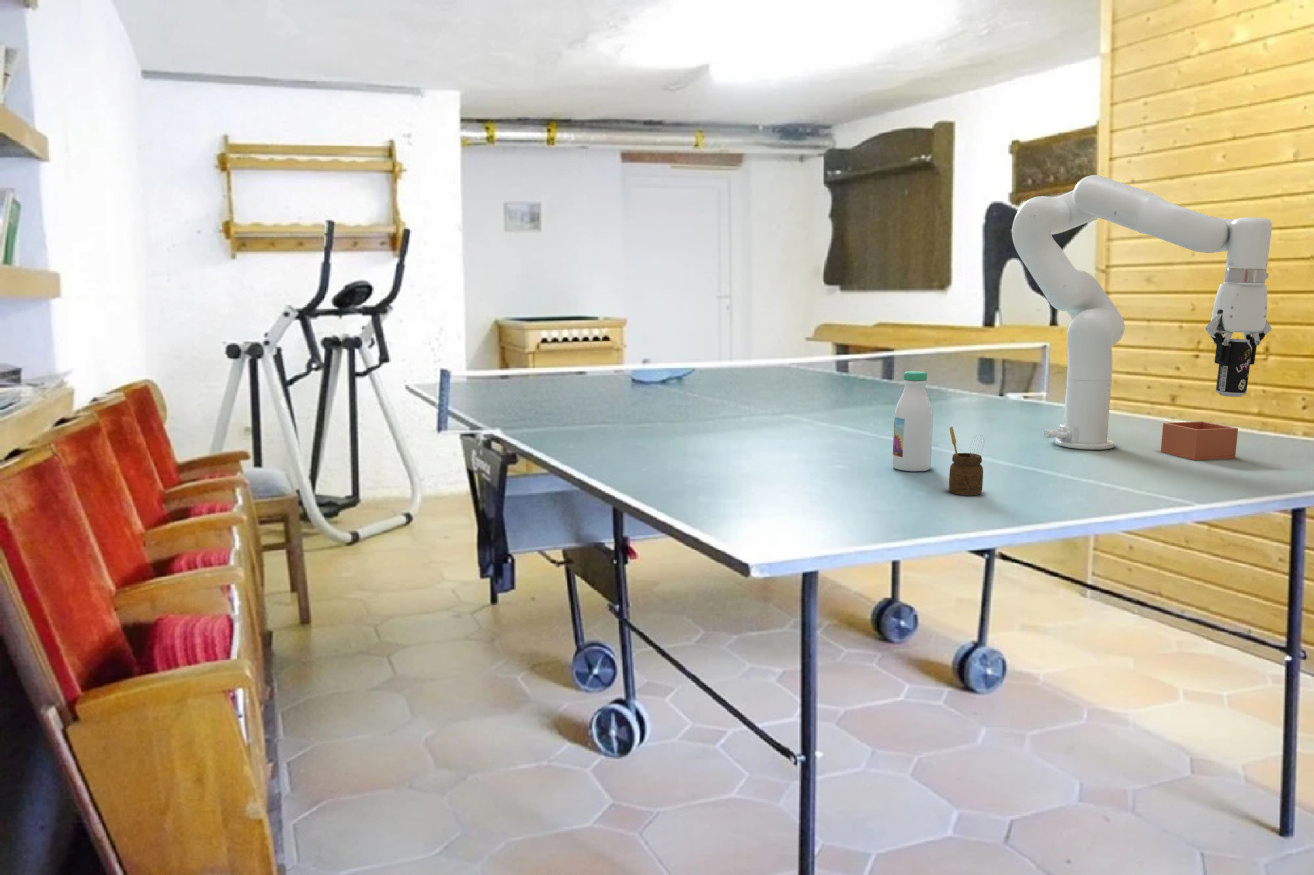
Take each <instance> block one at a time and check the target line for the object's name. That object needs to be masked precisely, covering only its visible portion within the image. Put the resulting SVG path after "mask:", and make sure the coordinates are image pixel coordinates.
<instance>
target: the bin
mask: <svg viewBox="0 0 1314 875" xmlns="http://www.w3.org/2000/svg"><path fill="white" fill-rule="evenodd" d="M1238 434H1239V428H1238V427H1233V426H1229V425H1223V424H1219V423H1213V422H1208V421H1202V420H1201V421H1177V422H1175V421H1174V422H1162V432H1161V444H1160V453H1165V454H1168V455H1171V456H1177V457H1180V458H1184V459H1188V460H1192V461H1206V460H1224V459H1225V460H1226V459H1228V460H1229V459H1236V456H1237V455H1236V454H1237V445H1238Z"/></svg>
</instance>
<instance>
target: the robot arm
mask: <svg viewBox="0 0 1314 875" xmlns="http://www.w3.org/2000/svg"><path fill="white" fill-rule="evenodd" d="M1073 188H1074V189H1072V190H1070V191H1068V192H1066V193H1063V194H1061V195H1058V196H1055V197H1054V196H1053V197H1052V196H1047V195H1046V196H1045V195H1041V196H1039V195H1038V196H1035V197H1031V198H1029V199H1028V200H1026V201H1025V202H1024V203H1022V205H1021V206H1020V207H1019V208H1018V210H1017V212H1016V214H1015V216H1014V219H1013V221H1012V226H1011V237H1012V243H1013V246H1014V249H1015V251H1016V253H1017V254H1018V257H1019V258H1020V259H1021V261H1022V263H1023V264H1024V266H1025V267H1026V269H1027V270H1028V272H1029V273H1030V275H1031V277H1032V279H1033V280H1034V282H1035V283H1036V285H1037V286H1038V287H1039V289H1040V291H1041V292H1042V293H1043V295H1044V296H1045V298H1046V300H1047V302H1048V303H1049V304H1050V306H1051V307H1052V308H1054V309H1055V310H1057V311H1060V312H1061V311H1062V312H1066V313H1067V314H1068V315H1069V317H1070V318H1071V320H1070V322H1069V324H1068V327H1067V331H1066V332H1067V333H1066V346H1067V349H1066V350H1067V370H1066V384H1065V385H1066V386H1065V387H1066V388H1065V401H1064V415H1063V416H1064V417H1063V424H1059V426H1058V428H1056V429H1045V430H1044V434H1043V435H1044V437H1045V439H1055V445H1057V446H1059V447H1064V448H1069V449H1077V450H1093V451H1094V450H1096V451H1097V450H1109V449H1112V448H1114V447H1115V442H1114V441H1113V440H1111V439H1108V434H1109V421H1110V420H1109V419H1110V408H1111V407H1110V406H1111V395H1112V394H1111V392H1112V378H1113V346H1115V345H1116V344H1118V343H1119V342H1120V340H1121V339H1122V338H1123V336H1124V333H1125V329H1126V328H1125V320H1124V318H1123V316H1122V314H1121V313H1120V311H1119V310H1118V309H1117V307H1116V305H1115V304H1114V303H1113V301H1112V299H1111V298H1110V297H1109V296H1108V294H1107V292H1106V291H1105V289H1104V288H1103V287H1102V285H1101V284H1100V283H1099V281H1098V280H1097V279H1096V278H1095V276H1093V275H1092V274H1091V273H1089V272H1087V271H1085V270H1081V269H1077V268H1076V267H1075V266H1074V265H1073V263H1072V262H1071V261H1070V259H1069V258H1068V257H1067V255H1066V253H1065V252H1064V250H1063V249H1062V247H1061V246H1060V245H1059V244H1058V243H1057V242H1056V240H1055V239H1054V237H1053V235H1057V234H1062V233H1064V232H1067V231H1069V230H1072V229H1075V228H1077V227H1079V226H1082V225H1084V224H1088V223H1090V222H1092V221H1094V220H1097V219H1102V220H1104V221H1107V222H1110V223H1113V224H1116V225H1119V226H1121V227H1124V228H1126V229H1128V230H1132V231H1135V232H1137V233H1139V234H1142V235H1143V234H1144V235H1148V236H1152V237H1154V238H1157V239H1158V240H1159V239H1160V240H1162V241H1164V242H1168V243H1170V244H1173V245H1176V246H1177V247H1178V246H1179V247H1182V248H1184V249H1187V250H1190V251H1192V252H1196V253H1205V254H1213V253H1221V252H1227V253H1226V259H1225V260H1226V261H1225V262H1226V263H1225V270H1224V275H1223V276H1224V277H1223V283H1220V284H1219V287H1218V289H1217V292H1216V295H1215V298H1214V303H1213V307H1212V312H1211V319H1210V321H1209V323H1208V324H1207V325H1206V326H1205V331H1206V333H1208V334H1209V335H1210V338H1211V339H1212V341H1213V345H1215V354H1214V364H1215V365H1219V364H1223V365H1227V364H1228V361H1229V353H1230V346H1227V345H1228V343H1229V340H1230V339H1232V336H1233V334H1234V333H1243V337H1244V338H1243V339H1245V340H1250V342H1249V343H1250V345H1251V347H1252V353H1251V361H1250V366H1253V365H1255V362H1256V355H1257V346H1260V345H1261V341H1262V340H1264V338H1265V337H1266V336H1267V335H1268V334H1269V333H1270V332H1271V331H1272V326H1271V325H1270V324H1269V321H1268V320H1267V315H1268V287H1267V285H1266V280H1268V278H1269V273H1268V272H1267V269H1268V263H1269V253H1270V247H1271V239H1272V231H1273V223H1272V220H1271V219H1269V218H1267V217H1257V216H1256V217H1253V216H1252V217H1251V216H1250V217H1238V218H1235V219H1233V218H1231V219H1230V218H1224V217H1218V216H1212V215H1208V214H1205V213H1202V212H1199V211H1196V210H1193V209H1190V208H1186V207H1184V206H1181V205H1178V204H1176V203H1172V202H1171V201H1168V200H1166V199H1164V198H1162V197H1161V196H1160V195H1158V194H1155V193H1153V192H1150V191H1147V190H1144V189H1141V188H1138V187H1135V186H1132V185H1129V184H1126V183H1123V182H1121V181H1118V180H1115V179H1112V178H1109V177H1106V176H1104V175H1098V174H1092V175H1087V176H1085V177H1083V178H1081V179H1080V180H1079V181H1078V182H1077V183H1076V185H1075V186H1074V187H1073Z"/></svg>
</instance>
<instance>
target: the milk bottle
mask: <svg viewBox="0 0 1314 875" xmlns="http://www.w3.org/2000/svg"><path fill="white" fill-rule="evenodd" d="M927 380H928V373H927V372H925V371H919V370H917V371H916V370H907V371H905V372H904V373H903V384H904V387H903V390H902V394H901V396H900V398H899V399H898V401H897V403H896V407H895V411H894V417H893V418H894V420H893V437H892V438H893V440H892V462H891V463H892V467H893V468H894V469H896V470H899V471H905V472H925V471H929V470H930V469H931V466H932V452H933V451H932V450H933V427H934V426H933V424H934V423H933V422H934V412H933V407H932V403H931V401H930V398H929V395H928V393H927V389H926V386H927V383H928V382H927Z"/></svg>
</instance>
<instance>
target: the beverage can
mask: <svg viewBox="0 0 1314 875" xmlns="http://www.w3.org/2000/svg"><path fill="white" fill-rule="evenodd" d="M1249 342H1250V340H1245V338H1230V340H1229V343H1228V345H1227V346H1230V353H1229V361H1228V364H1227V365H1223V364H1218V368H1217V369H1218V371H1217V378H1216V384H1215V392H1216V393H1218V394H1219V396H1224V397H1230V398H1241V397H1243V396H1244V395H1246V394H1247V392H1248V385H1249V384H1248V383H1249V377H1250V370H1251V369H1250V367H1251V365H1250V361H1251V353H1252V347H1251V345H1250V343H1249Z"/></svg>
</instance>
